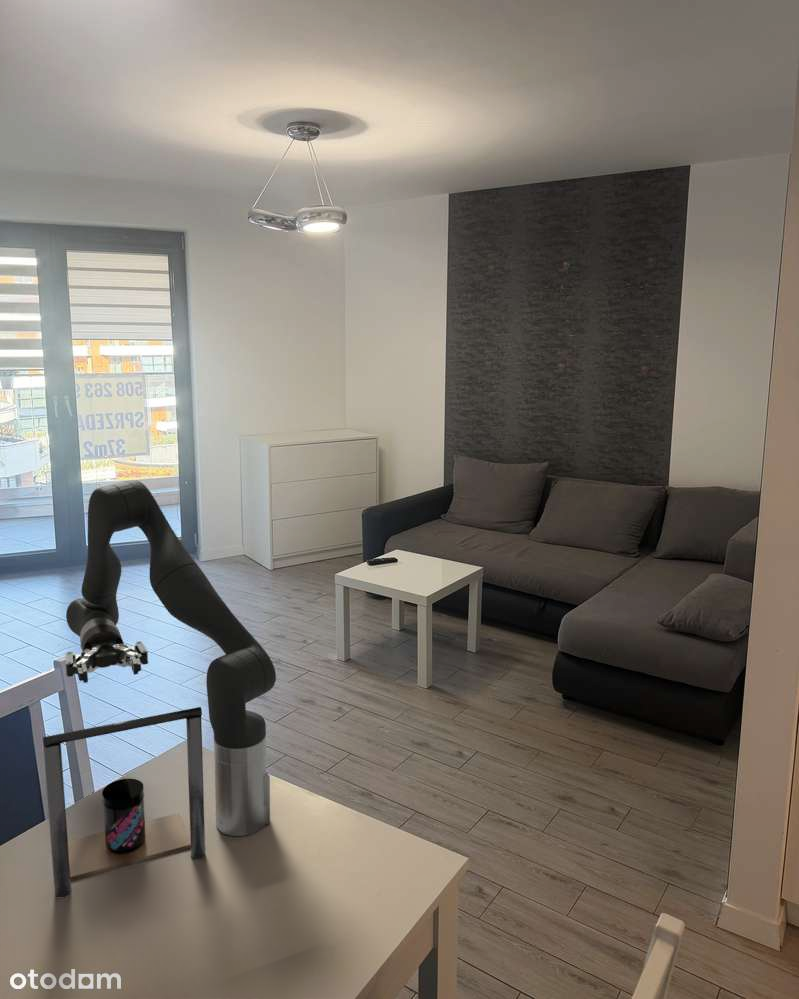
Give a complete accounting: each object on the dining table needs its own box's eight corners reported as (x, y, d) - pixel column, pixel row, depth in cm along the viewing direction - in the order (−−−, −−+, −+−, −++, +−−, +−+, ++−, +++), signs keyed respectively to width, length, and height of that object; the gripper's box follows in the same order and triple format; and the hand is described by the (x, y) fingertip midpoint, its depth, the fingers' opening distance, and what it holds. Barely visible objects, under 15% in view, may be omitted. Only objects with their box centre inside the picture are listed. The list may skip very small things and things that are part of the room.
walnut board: (179, 815, 140) (179, 812, 140) (190, 847, 132) (190, 844, 132) (62, 845, 131) (62, 842, 131) (66, 881, 123) (66, 878, 123)
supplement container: (97, 853, 129) (94, 798, 127) (117, 828, 135) (115, 776, 133) (134, 858, 128) (131, 803, 126) (153, 833, 134) (150, 780, 132)
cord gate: (203, 848, 131) (199, 704, 126) (206, 857, 129) (202, 710, 124) (54, 890, 121) (42, 734, 115) (55, 899, 119) (43, 741, 113)
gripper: (60, 629, 145) (66, 660, 131) (138, 618, 152) (151, 647, 138) (63, 665, 147) (69, 700, 133) (139, 653, 153) (153, 685, 139)
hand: (111, 673), depth 135 cm, fingers open, 8 cm apart
